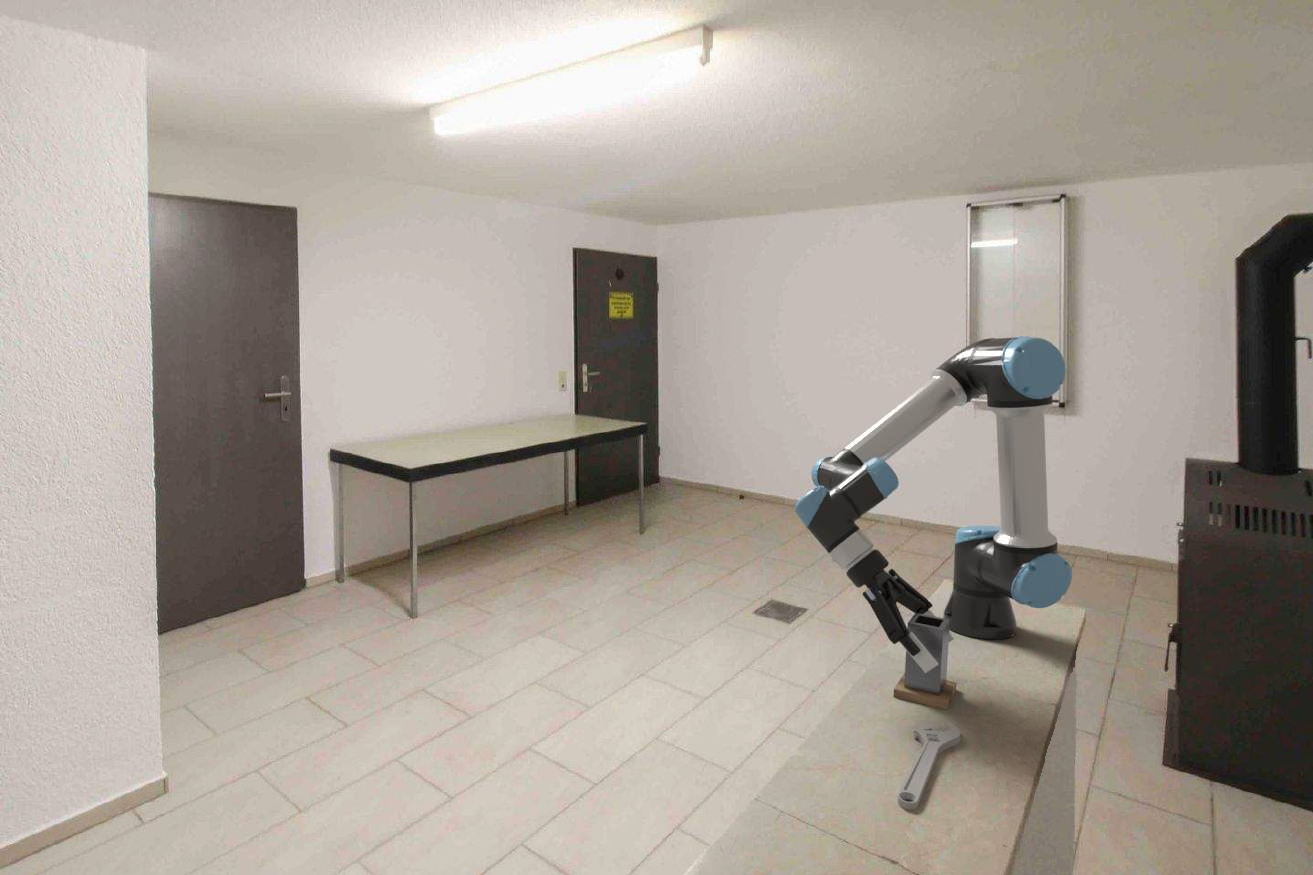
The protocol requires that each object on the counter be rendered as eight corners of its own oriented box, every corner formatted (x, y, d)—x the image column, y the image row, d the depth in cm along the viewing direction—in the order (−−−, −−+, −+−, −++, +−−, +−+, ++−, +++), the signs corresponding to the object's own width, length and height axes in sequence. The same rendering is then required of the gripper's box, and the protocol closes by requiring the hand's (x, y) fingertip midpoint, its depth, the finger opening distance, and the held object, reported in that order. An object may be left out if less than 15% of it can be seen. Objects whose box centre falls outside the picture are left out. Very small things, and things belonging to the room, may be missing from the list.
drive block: (905, 681, 137) (906, 649, 136) (955, 692, 132) (957, 660, 131) (893, 699, 129) (894, 666, 128) (946, 712, 124) (948, 678, 124)
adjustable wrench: (915, 816, 96) (916, 804, 96) (868, 799, 100) (868, 786, 100) (963, 737, 116) (964, 726, 116) (922, 725, 120) (923, 715, 120)
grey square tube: (912, 674, 135) (915, 612, 133) (946, 683, 131) (950, 619, 130) (904, 687, 129) (907, 622, 128) (939, 695, 126) (943, 629, 125)
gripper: (865, 556, 147) (939, 643, 141) (822, 588, 126) (906, 692, 120) (892, 534, 144) (969, 622, 137) (853, 563, 123) (942, 668, 116)
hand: (940, 655), depth 128 cm, fingers open, 13 cm apart
